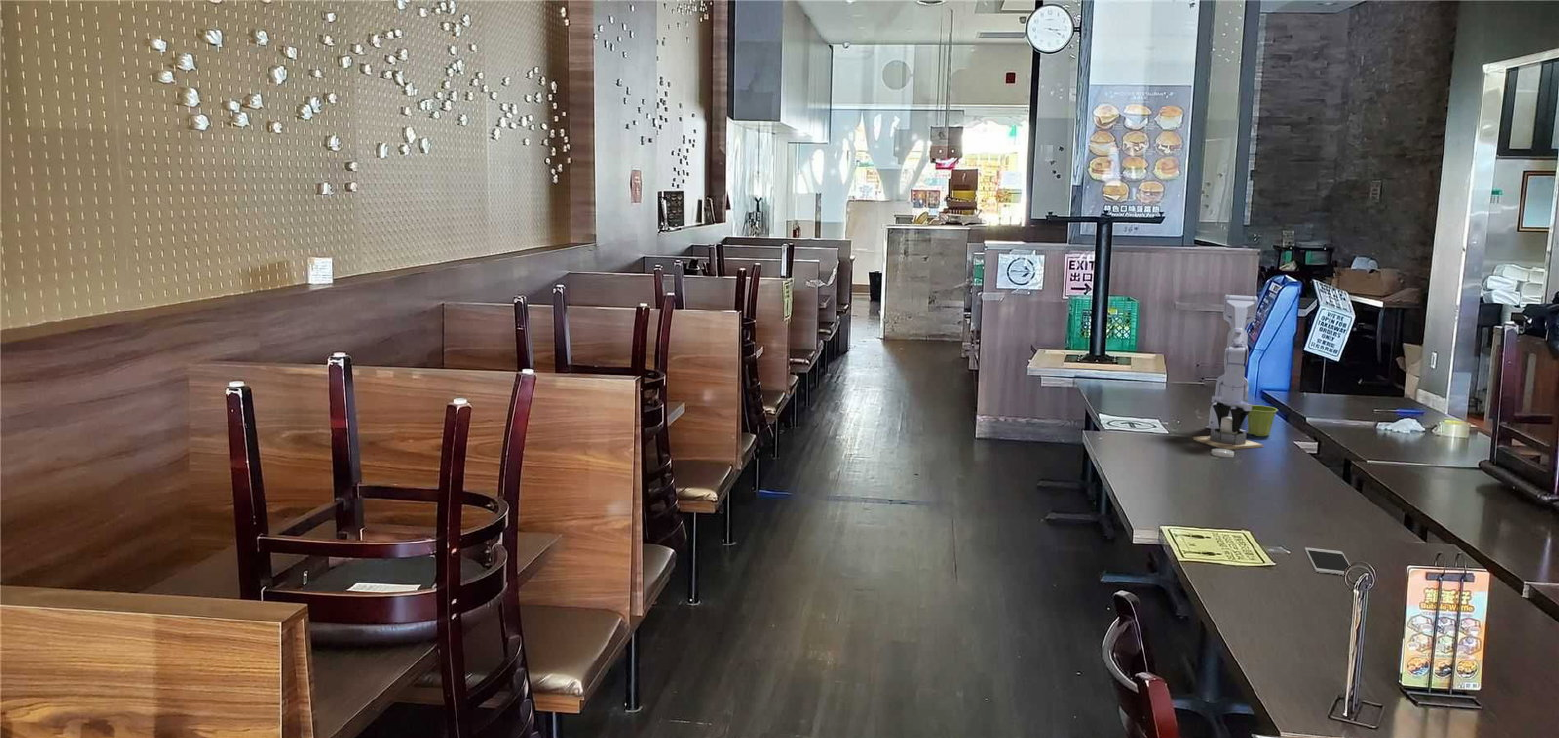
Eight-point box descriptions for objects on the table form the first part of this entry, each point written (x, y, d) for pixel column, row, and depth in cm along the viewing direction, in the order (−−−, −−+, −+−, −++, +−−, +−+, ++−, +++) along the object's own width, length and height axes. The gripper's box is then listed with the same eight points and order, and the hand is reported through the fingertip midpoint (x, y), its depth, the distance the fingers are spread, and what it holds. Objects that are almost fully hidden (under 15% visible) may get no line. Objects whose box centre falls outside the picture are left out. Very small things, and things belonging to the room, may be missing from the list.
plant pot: (1278, 438, 332) (1281, 411, 330) (1247, 436, 333) (1250, 410, 332) (1269, 432, 341) (1272, 406, 339) (1239, 430, 342) (1241, 404, 341)
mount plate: (1193, 439, 327) (1193, 437, 327) (1228, 437, 332) (1229, 434, 332) (1226, 449, 314) (1226, 447, 314) (1262, 447, 319) (1263, 444, 319)
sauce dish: (1206, 454, 309) (1207, 449, 309) (1222, 453, 311) (1223, 448, 311) (1221, 459, 303) (1222, 454, 303) (1238, 457, 306) (1238, 452, 305)
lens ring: (1203, 438, 326) (1204, 428, 325) (1228, 436, 329) (1229, 427, 328) (1226, 445, 316) (1227, 435, 316) (1253, 443, 320) (1253, 434, 319)
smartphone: (1341, 555, 221) (1341, 550, 221) (1356, 579, 207) (1356, 574, 206) (1303, 551, 223) (1304, 546, 223) (1315, 574, 209) (1316, 570, 209)
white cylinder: (1216, 432, 324) (1217, 417, 323) (1229, 432, 325) (1230, 416, 325) (1228, 436, 319) (1229, 420, 318) (1241, 435, 321) (1242, 419, 320)
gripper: (1205, 382, 325) (1201, 425, 327) (1240, 390, 312) (1236, 435, 314) (1223, 381, 328) (1219, 424, 330) (1259, 389, 314) (1254, 434, 316)
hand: (1228, 429), depth 322 cm, fingers closed on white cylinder, 5 cm apart
